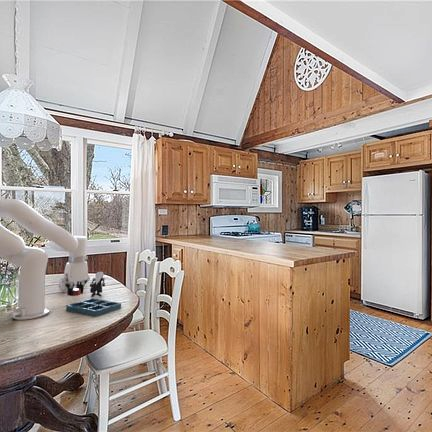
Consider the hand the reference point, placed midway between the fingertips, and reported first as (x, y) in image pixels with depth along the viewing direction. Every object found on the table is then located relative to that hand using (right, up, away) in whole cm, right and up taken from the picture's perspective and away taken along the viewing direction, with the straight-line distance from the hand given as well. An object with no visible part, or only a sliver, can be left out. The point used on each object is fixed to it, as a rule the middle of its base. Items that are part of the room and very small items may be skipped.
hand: (75, 294), depth 158 cm
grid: (+14, -6, -7) cm, 17 cm away
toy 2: (-2, -5, +23) cm, 24 cm away
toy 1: (-21, -5, +27) cm, 35 cm away
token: (0, 0, 0) cm, 0 cm away
